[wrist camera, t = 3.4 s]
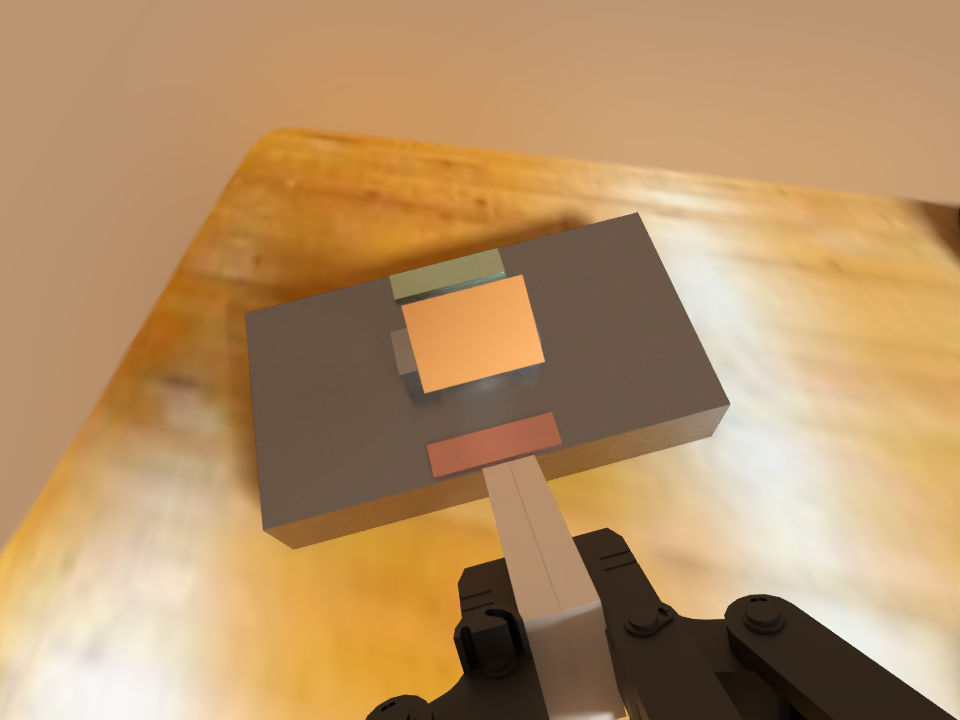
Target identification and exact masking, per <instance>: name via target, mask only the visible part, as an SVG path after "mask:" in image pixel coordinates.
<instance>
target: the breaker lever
mask: <svg viewBox="0 0 960 720" xmlns="http://www.w3.org/2000/svg"><path fill="white" fill-rule="evenodd" d="M401 307H402V310H403V314H404V318H405V322H406V326H407V329H408V333H409V337H410V341H411V344H412V348H413V352H414V356H415V360H416V363H417V367H418V371H419V375H420V378H421V382H422V386H423V390H424V393H428V392H432V391H436V390H439V389H443V388H447V387H451V386H455V385H458V384H462V383H466V382H470V381H473V380H477V379H481V378H485V377H489V376H492V375H496V374H500V373H504V372H508V371H511V370H515V369H519V368H523V367H526V366H530V365H534V364H538V363H542V362H545V360H544V356H543V352H542V348H541V344H540V340H539V336H538V333H537V329H536V325H535V321H534V317H533V313H532V309H531V306H530V302H529V298H528V294H527V290H526V286H525V283H524V279H523V275H518V276H514V277H511V278H507V279H503V280H499V281H495V282H491V283H487V284H484V285H480V286H476V287H472V288H468V289H464V290H460V291H457V292H453V293H449V294H445V295H441V296H437V297H433V298H430V299H426V300H422V301H418V302H414V303H410V304H406V305H403V306H401Z"/></svg>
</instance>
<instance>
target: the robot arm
mask: <svg viewBox="0 0 960 720" xmlns="http://www.w3.org/2000/svg"><path fill="white" fill-rule="evenodd" d="M483 473H484V477H485V481H486V485H487V489H488V493H489V497H490V501H491V505H492V509H493V513H494V516H495V520H496V524H497V528H498V532H499V536H500V540H501V544H502V548H503V552H504V556H505V558H501V559H497V560H494V561H490V562H487V563H483V564H479V565H476V566H472V567H468V568H465V569H464V571H463V573H462V576H461V578H460V580H459V582H458V589H459V598H460V606H461V612H462V619H461V621H460V622H459V624H458V625H457V627H456V628H455V632H454V638H453V639H454V642H455V645H456V649H457V652H458V655H459V658H460V662H461V665H462V668H463V671H464V674H463V675H462V677H461V678H460V680H459V681H458V683H457V684H456V685H455V686H454V687H453V688H452V689H451V690H449V691H448V692H446V693H445V694H444V695H442V696H441V697H439V698H437V699H435V700H434V701H432V702H430V703H429V704H428V703H427V701H426V700H424V699H422V698H420V697H418V696H415V695H401V696H397V697H393V698H390V699H389V700H387V701H385V702H383V703H382V704H380V705H378V706H377V707H376V708H375V709H374V710H373V711H372V712H371V713H370V714H369V715H368V716H367V718H366V720H615V719H618V718H622V717H625V716H626V713H625V708H626V710H627V713H628V715H629V717H630V720H957V719H956V718H954V717H953V716H951V715H950V714H949V713H947V712H946V711H944V710H943V709H941V708H940V707H939V706H937V705H936V704H934V703H933V702H932V701H930V700H929V699H927V698H926V697H924V696H923V695H922V694H920V693H919V692H917V691H916V690H914V689H913V688H912V687H910V686H909V685H907V684H906V683H905V682H903V681H902V680H900V679H899V678H897V677H896V676H895V675H893V674H892V673H890V672H889V671H887V670H886V669H885V668H883V667H882V666H880V665H879V664H878V663H876V662H875V661H873V660H872V659H870V658H869V657H868V656H866V655H865V654H863V653H862V652H860V651H859V650H858V649H856V648H855V647H853V646H852V645H851V644H849V643H848V642H846V641H845V640H843V639H842V638H841V637H839V636H838V635H836V634H835V633H833V632H832V631H831V630H829V629H828V628H826V627H825V626H824V625H822V624H821V623H819V622H818V621H816V620H815V619H814V618H812V617H811V616H809V615H808V614H806V613H805V612H804V611H802V610H801V609H799V608H798V607H797V606H795V605H794V604H792V603H790V602H788V601H786V600H784V599H782V598H780V597H776V596H771V595H766V594H759V595H748V596H745V597H742V598H739V599H737V600H736V601H734V602H733V603H732V604H730V605H729V606H728V608H727V610H726V612H725V615H724V616H725V619H712V620H701V619H691V618H686V617H682V616H680V615H678V613H677V612H676V611H675V610H674V609H673V608H672V607H671V606H669V605H667V604H665V603H662V602H661V601H660V599H659V597H658V596H657V594H656V592H655V590H654V589H653V587H652V585H651V584H650V582H649V580H648V579H647V577H646V575H645V574H644V572H643V570H642V569H641V567H640V565H639V564H638V563H637V560H636V559H635V557H634V555H633V554H632V552H631V551H630V549H629V547H628V545H627V544H626V542H625V540H624V539H623V537H622V536H620V535H619V534H617V533H615V532H614V531H612V530H610V529H609V528H604V529H601V530H597V531H593V532H590V533H586V534H582V535H579V536H575V537H571V534H570V532H569V530H568V528H567V526H566V523H565V521H564V519H563V517H562V515H561V512H560V510H559V508H558V506H557V504H556V501H555V499H554V497H553V495H552V493H551V490H550V488H549V486H548V484H547V482H546V480H545V477H544V475H543V473H542V471H541V469H540V466H539V464H538V462H537V460H536V458H535V455H532V456H528V457H524V458H521V459H517V460H513V461H509V462H506V463H502V464H498V465H495V466H491V467H487V468H484V469H483ZM623 703H624V704H623ZM624 705H625V708H624Z"/></svg>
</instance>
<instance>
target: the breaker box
mask: <svg viewBox="0 0 960 720" xmlns="http://www.w3.org/2000/svg"><path fill="white" fill-rule="evenodd" d="M518 275H523V279H524V283H525V286H526V290H527V294H528V298H529V302H530V306H531V309H532V313H533V317H534V321H535V325H536V329H537V333H538V336H539V340H540V344H541V348H542V352H543V356H544V360H545V362H542V363H538V364H534V365H530V366H526V367H523V368H519V369H515V370H511V371H508V372H504V373H500V374H496V375H492V376H489V377H485V378H481V379H477V380H473V381H470V382H466V383H462V384H458V385H455V386H451V387H447V388H443V389H439V390H436V391H432V392H428V393H424V390H423V386H422V382H421V378H420V375H419V371H418V367H417V363H416V360H415V356H414V352H413V348H412V344H411V341H410V337H409V333H408V329H407V326H406V322H405V318H404V314H403V310H402V307H401V306H403V305H406V304H410V303H414V302H418V301H422V300H426V299H430V298H433V297H437V296H441V295H445V294H449V293H453V292H457V291H460V290H464V289H468V288H472V287H476V286H480V285H484V284H487V283H491V282H495V281H499V280H503V279H507V278H511V277H514V276H518ZM245 318H246V330H247V342H248V355H249V367H250V379H251V391H252V403H253V415H254V427H255V439H256V451H257V463H258V475H259V488H260V500H261V512H262V524H263V531H265V532H267V533H268V534H270V535H271V536H273V537H275V538H276V539H278V540H279V541H281V542H283V543H284V544H286V545H287V546H289V547H291V548H292V549H297V548H301V547H305V546H308V545H312V544H316V543H319V542H323V541H327V540H330V539H334V538H338V537H341V536H345V535H349V534H353V533H356V532H360V531H364V530H367V529H371V528H375V527H378V526H382V525H386V524H389V523H393V522H397V521H401V520H404V519H408V518H412V517H415V516H419V515H423V514H426V513H430V512H434V511H437V510H441V509H445V508H448V507H452V506H456V505H460V504H463V503H467V502H471V501H474V500H478V499H482V498H485V497H489V493H488V489H487V485H486V481H485V477H484V473H483V469H484V468H487V467H491V466H495V465H498V464H502V463H506V462H509V461H513V460H517V459H521V458H524V457H528V456H532V455H535V458H536V460H537V462H538V464H539V466H540V469H541V471H542V473H543V475H544V477H545V480H546V481H548V480H552V479H556V478H559V477H563V476H567V475H570V474H574V473H578V472H581V471H585V470H589V469H592V468H596V467H600V466H603V465H607V464H611V463H615V462H618V461H622V460H626V459H629V458H633V457H637V456H640V455H644V454H648V453H651V452H655V451H659V450H663V449H666V448H670V447H674V446H677V445H681V444H685V443H688V442H692V441H696V440H699V439H703V438H707V437H711V436H712V434H713V433H714V431H715V429H716V428H717V426H718V424H719V423H720V421H721V419H722V418H723V416H724V414H725V413H726V411H727V409H728V408H729V406H730V402H729V400H728V398H727V396H726V394H725V392H724V390H723V388H722V386H721V384H720V382H719V379H718V377H717V375H716V373H715V371H714V369H713V367H712V365H711V363H710V361H709V359H708V357H707V355H706V353H705V350H704V348H703V346H702V344H701V342H700V340H699V338H698V336H697V334H696V332H695V330H694V328H693V326H692V324H691V321H690V319H689V317H688V315H687V313H686V311H685V309H684V307H683V305H682V303H681V301H680V299H679V297H678V295H677V293H676V290H675V288H674V286H673V284H672V282H671V280H670V278H669V276H668V274H667V272H666V270H665V268H664V266H663V264H662V261H661V259H660V257H659V255H658V253H657V251H656V249H655V247H654V245H653V243H652V241H651V239H650V237H649V235H648V232H647V230H646V228H645V226H644V224H643V222H642V220H641V218H640V216H639V214H638V212H637V213H633V214H629V215H625V216H622V217H618V218H614V219H610V220H606V221H602V222H598V223H594V224H590V225H587V226H583V227H579V228H575V229H571V230H567V231H563V232H559V233H556V234H552V235H548V236H544V237H540V238H536V239H532V240H528V241H524V242H521V243H517V244H513V245H509V246H505V247H501V248H495V249H491V250H488V251H484V252H480V253H476V254H472V255H468V256H464V257H460V258H457V259H453V260H449V261H445V262H441V263H437V264H433V265H429V266H425V267H422V268H418V269H414V270H410V271H406V272H402V273H398V274H394V275H390V276H388V277H385V278H381V279H377V280H373V281H369V282H365V283H361V284H357V285H354V286H350V287H346V288H342V289H338V290H334V291H330V292H326V293H322V294H319V295H315V296H311V297H307V298H303V299H299V300H295V301H291V302H287V303H284V304H280V305H276V306H272V307H268V308H264V309H260V310H256V311H253V312H249V313H245Z"/></svg>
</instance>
